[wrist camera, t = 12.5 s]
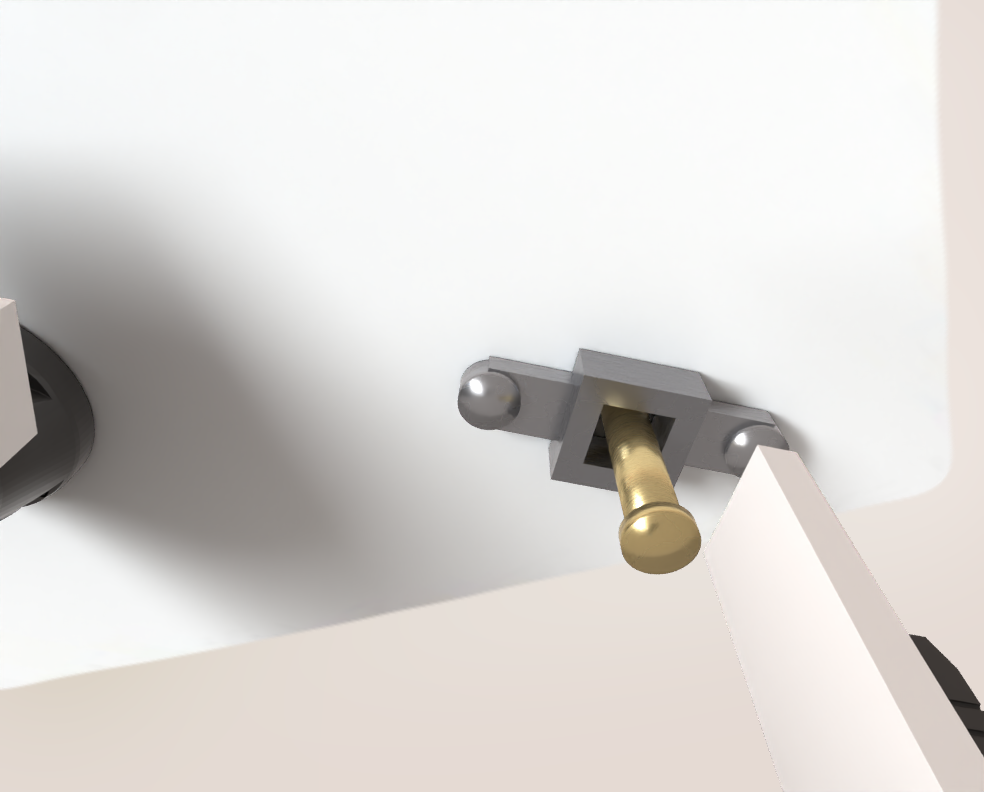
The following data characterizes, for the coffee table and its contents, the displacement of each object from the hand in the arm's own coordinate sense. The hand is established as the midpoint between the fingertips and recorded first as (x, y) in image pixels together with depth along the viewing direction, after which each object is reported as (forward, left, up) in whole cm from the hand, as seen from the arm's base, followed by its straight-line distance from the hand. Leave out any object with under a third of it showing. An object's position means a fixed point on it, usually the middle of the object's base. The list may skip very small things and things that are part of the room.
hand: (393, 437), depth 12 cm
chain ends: (+13, -15, -29) cm, 35 cm away
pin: (+13, -15, -29) cm, 35 cm away
